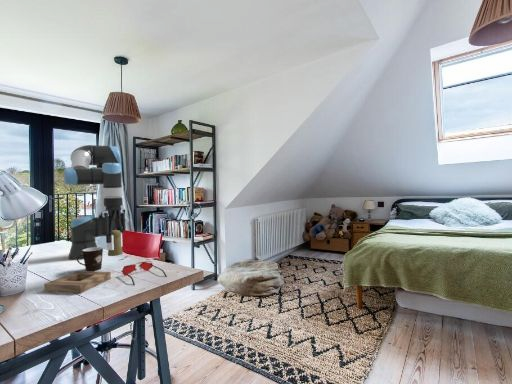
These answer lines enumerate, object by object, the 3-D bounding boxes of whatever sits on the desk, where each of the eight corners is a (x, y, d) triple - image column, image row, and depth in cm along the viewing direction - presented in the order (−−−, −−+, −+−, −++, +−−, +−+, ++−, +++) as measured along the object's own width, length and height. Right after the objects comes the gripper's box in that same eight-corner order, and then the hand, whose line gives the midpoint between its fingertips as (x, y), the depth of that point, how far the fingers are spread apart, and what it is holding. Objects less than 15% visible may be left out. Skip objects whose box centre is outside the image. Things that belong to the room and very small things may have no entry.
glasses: (152, 269, 129) (151, 259, 129) (167, 277, 117) (166, 266, 117) (121, 277, 120) (120, 265, 120) (133, 286, 108) (133, 274, 108)
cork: (125, 253, 125) (124, 229, 124) (114, 256, 119) (113, 231, 119) (116, 251, 127) (115, 228, 127) (104, 255, 122) (103, 231, 121)
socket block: (78, 277, 120) (78, 270, 120) (110, 278, 117) (110, 271, 117) (44, 291, 104) (44, 283, 104) (80, 293, 101) (80, 285, 101)
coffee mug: (101, 265, 137) (100, 246, 137) (106, 269, 131) (105, 248, 131) (73, 271, 129) (72, 250, 129) (78, 275, 123) (77, 253, 123)
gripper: (119, 196, 132) (120, 243, 133) (90, 198, 114) (92, 253, 115) (133, 196, 131) (134, 243, 132) (105, 198, 113) (108, 253, 114)
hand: (115, 248), depth 123 cm, fingers closed on cork, 5 cm apart
